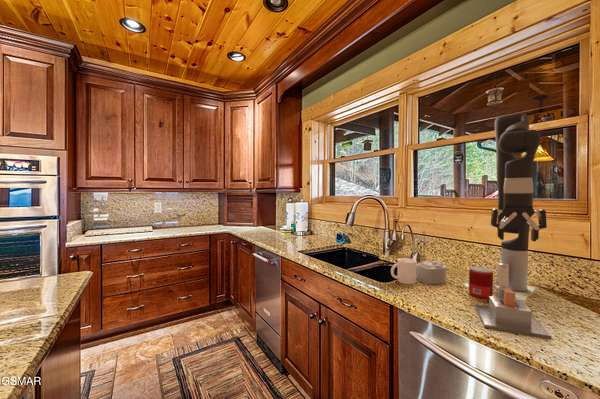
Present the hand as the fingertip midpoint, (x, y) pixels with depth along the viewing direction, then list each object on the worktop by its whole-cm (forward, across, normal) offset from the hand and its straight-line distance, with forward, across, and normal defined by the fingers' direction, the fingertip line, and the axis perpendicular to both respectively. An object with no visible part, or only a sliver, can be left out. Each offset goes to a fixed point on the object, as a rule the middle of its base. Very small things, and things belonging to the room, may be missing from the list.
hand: (517, 240), depth 88 cm
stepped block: (+25, +3, +4) cm, 26 cm away
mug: (+27, +37, -21) cm, 51 cm away
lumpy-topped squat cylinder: (+27, +24, -30) cm, 47 cm away
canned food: (+27, +7, -17) cm, 33 cm away
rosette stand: (+26, +3, +3) cm, 27 cm away
